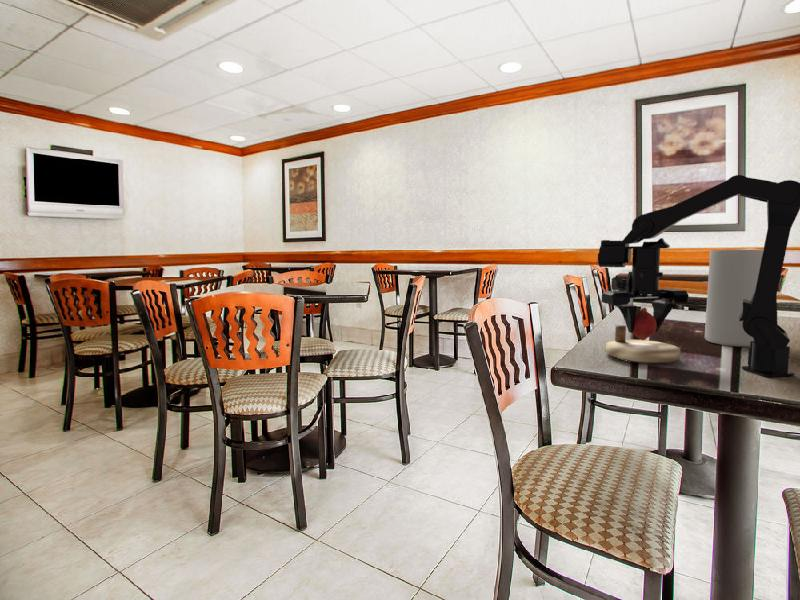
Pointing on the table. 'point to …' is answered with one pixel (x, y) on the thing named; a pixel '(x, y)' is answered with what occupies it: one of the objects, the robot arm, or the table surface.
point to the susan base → (646, 362)
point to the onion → (644, 324)
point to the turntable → (640, 349)
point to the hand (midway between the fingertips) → (643, 332)
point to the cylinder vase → (730, 294)
